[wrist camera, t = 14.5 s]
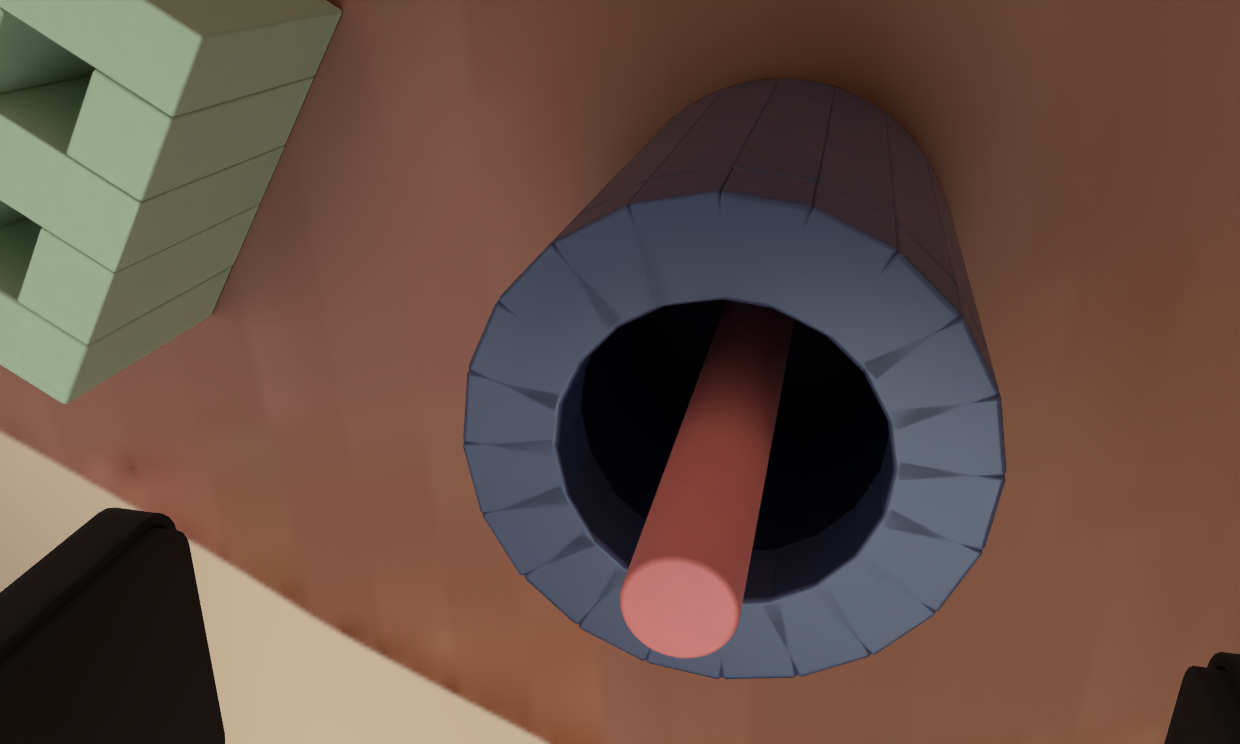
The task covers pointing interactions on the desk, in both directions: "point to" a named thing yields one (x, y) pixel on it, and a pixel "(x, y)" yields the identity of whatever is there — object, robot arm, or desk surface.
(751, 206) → the tumbler
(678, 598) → the straw
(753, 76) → the desk surface
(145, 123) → the rack
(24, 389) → the desk surface
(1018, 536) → the desk surface
